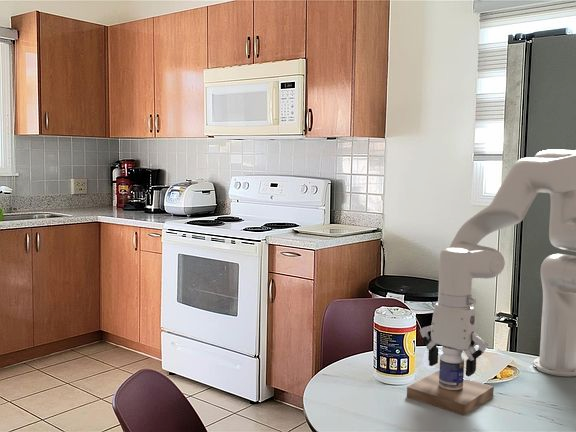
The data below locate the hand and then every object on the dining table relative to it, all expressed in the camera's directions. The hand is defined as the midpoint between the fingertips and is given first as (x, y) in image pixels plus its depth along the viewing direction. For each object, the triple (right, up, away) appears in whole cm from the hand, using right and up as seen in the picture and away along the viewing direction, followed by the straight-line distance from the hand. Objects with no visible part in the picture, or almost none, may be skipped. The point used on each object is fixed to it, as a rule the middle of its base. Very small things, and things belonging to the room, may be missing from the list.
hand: (451, 369), depth 152 cm
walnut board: (0, -7, +1) cm, 7 cm away
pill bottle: (0, -4, +1) cm, 5 cm away
